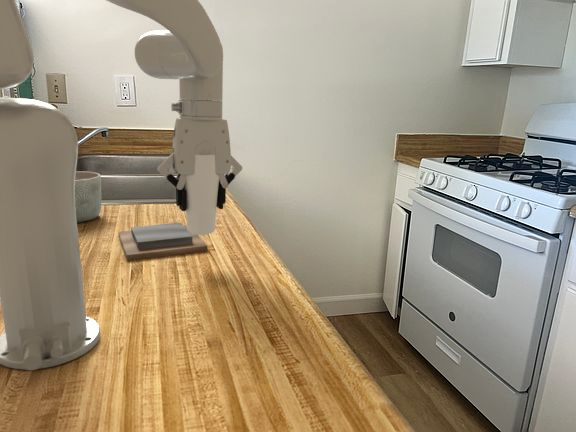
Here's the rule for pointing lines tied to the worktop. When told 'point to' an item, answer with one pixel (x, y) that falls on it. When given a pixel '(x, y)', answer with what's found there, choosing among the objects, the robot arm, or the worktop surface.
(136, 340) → the worktop surface
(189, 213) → the drinking glass
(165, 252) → the base
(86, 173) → the planter
